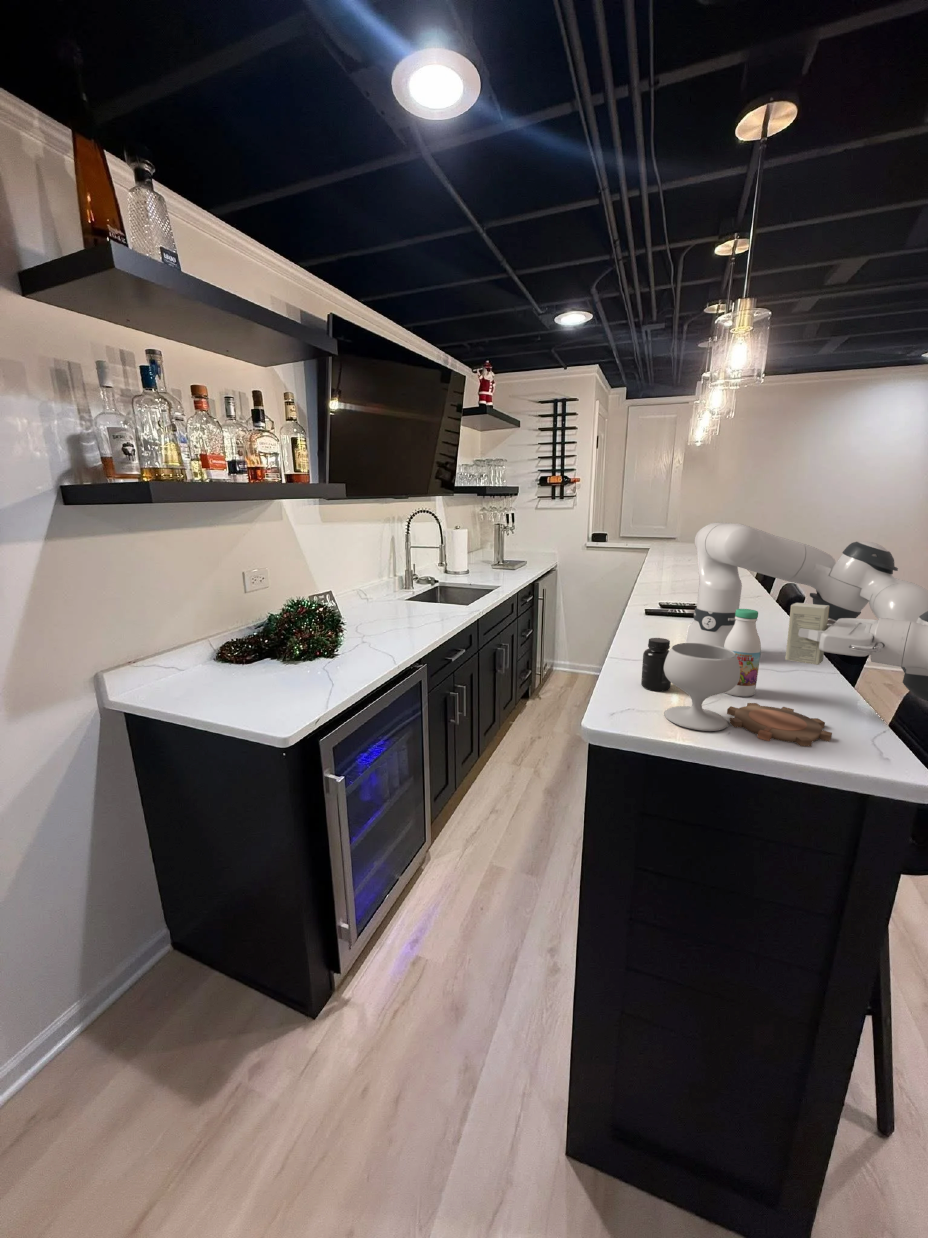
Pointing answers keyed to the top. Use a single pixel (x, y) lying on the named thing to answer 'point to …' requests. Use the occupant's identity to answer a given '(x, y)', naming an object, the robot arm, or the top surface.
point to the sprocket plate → (778, 724)
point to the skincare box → (806, 618)
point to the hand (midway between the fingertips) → (802, 629)
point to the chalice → (700, 682)
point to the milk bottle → (745, 651)
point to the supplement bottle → (655, 665)
